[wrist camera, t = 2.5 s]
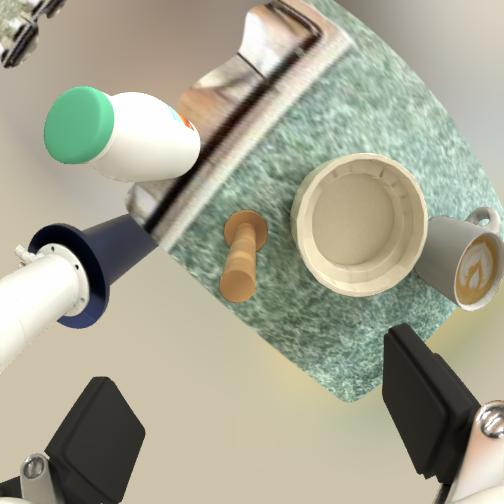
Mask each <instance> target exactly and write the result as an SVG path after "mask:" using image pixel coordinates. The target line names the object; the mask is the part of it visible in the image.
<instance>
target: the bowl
mask: <svg viewBox="0 0 504 504" xmlns="http://www.w3.org/2000/svg"><path fill="white" fill-rule="evenodd" d="M290 219H291V234H292V237H293V240H294V242H295V245H296V247H297V250H298V252H299V254H300V256H301V258H302V260H303V262H304V264H305V266H306V267H307V268H308V270H309V271H310V272H311V273H312V274H313V276H314V277H315V278H316V279H317V281H318V282H319V283H321V284H322V285H324V286H326V287H327V288H329V289H331V290H332V291H334V292H336V293H338V294H343V295H348V296H353V297H363V296H370V295H377V294H379V293H381V292H383V291H385V290H387V289H390V288H392V287H394V286H395V285H396V284H397V283H398V282H400V281H401V280H402V279H403V278H404V277H405V276H406V275H408V274H409V272H410V271H411V270H412V268H413V267H414V265H415V263H416V262H417V260H418V259H419V257H420V255H421V253H422V250H423V247H424V244H425V240H426V237H427V228H428V212H427V208H426V204H425V199H424V195H423V193H422V191H421V189H420V187H419V186H418V184H417V182H416V181H415V179H414V177H413V176H412V175H411V174H410V173H409V172H408V171H407V170H406V169H405V168H404V167H402V166H401V165H400V164H399V163H398V162H396V161H394V160H392V159H389V158H387V157H384V156H382V155H379V154H369V153H355V154H349V155H344V156H339V157H336V158H334V159H331V160H328V161H325V162H323V163H321V164H320V165H319V166H317V167H316V168H315V169H314V170H313V171H311V172H310V173H309V174H308V175H307V176H306V177H305V179H304V180H303V182H302V183H301V185H300V187H299V188H298V190H297V191H296V193H295V197H294V200H293V204H292V208H291V212H290Z"/></svg>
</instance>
